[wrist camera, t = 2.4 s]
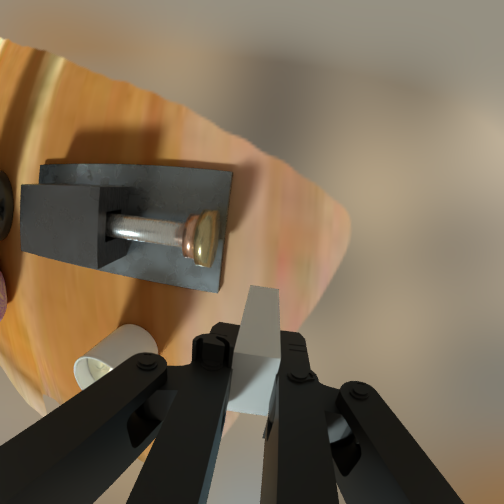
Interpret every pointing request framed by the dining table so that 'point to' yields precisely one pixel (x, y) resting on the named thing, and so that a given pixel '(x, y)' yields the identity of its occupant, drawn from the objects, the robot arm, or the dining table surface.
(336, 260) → the dining table surface
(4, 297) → the bowl of food
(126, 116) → the dining table surface
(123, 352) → the candle holder
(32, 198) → the bearing block
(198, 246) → the shaft
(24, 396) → the dining table surface
